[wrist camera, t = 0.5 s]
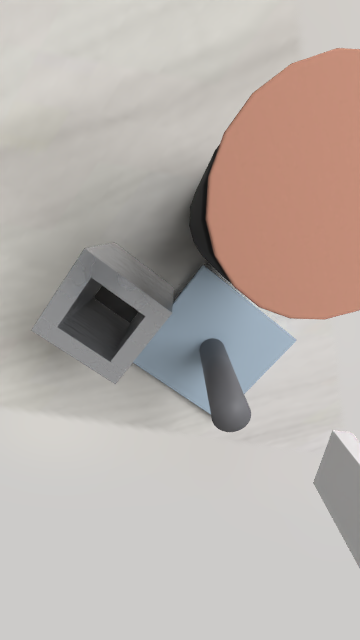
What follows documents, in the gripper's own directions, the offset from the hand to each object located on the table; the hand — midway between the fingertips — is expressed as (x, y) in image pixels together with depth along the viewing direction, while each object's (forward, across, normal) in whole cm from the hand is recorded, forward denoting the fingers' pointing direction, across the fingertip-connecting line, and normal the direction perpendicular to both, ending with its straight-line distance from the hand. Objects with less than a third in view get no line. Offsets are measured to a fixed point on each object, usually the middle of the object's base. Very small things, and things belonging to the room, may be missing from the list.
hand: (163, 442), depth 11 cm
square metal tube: (+22, -5, 0) cm, 23 cm away
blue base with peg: (+22, +6, -5) cm, 23 cm away
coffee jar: (+22, +6, +10) cm, 25 cm away
